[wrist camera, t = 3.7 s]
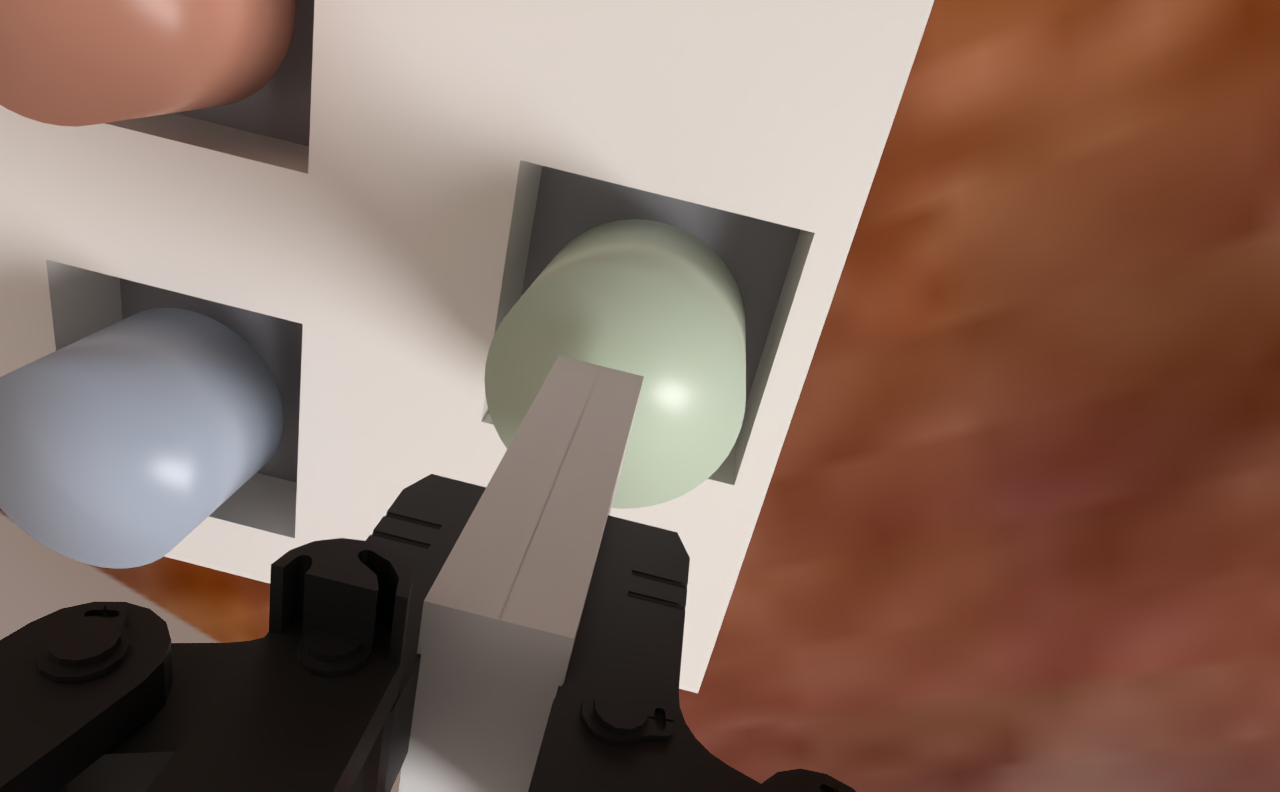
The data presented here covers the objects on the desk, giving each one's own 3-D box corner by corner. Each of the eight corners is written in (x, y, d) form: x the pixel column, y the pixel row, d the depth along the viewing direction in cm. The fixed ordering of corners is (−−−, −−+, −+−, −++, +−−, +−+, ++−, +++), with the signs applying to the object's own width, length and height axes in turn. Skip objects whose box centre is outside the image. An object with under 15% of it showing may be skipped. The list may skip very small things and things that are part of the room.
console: (32, -322, 17) (-121, -398, 14) (937, -105, 17) (980, -134, 14) (101, 460, 26) (15, 518, 23) (703, 613, 26) (697, 693, 22)
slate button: (94, 286, 20) (-49, 342, 16) (286, 334, 20) (185, 402, 16) (108, 455, 22) (-16, 537, 19) (282, 499, 22) (192, 590, 19)
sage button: (553, 194, 18) (504, 237, 14) (771, 249, 18) (779, 306, 14) (519, 393, 20) (469, 474, 16) (714, 442, 20) (708, 534, 16)
